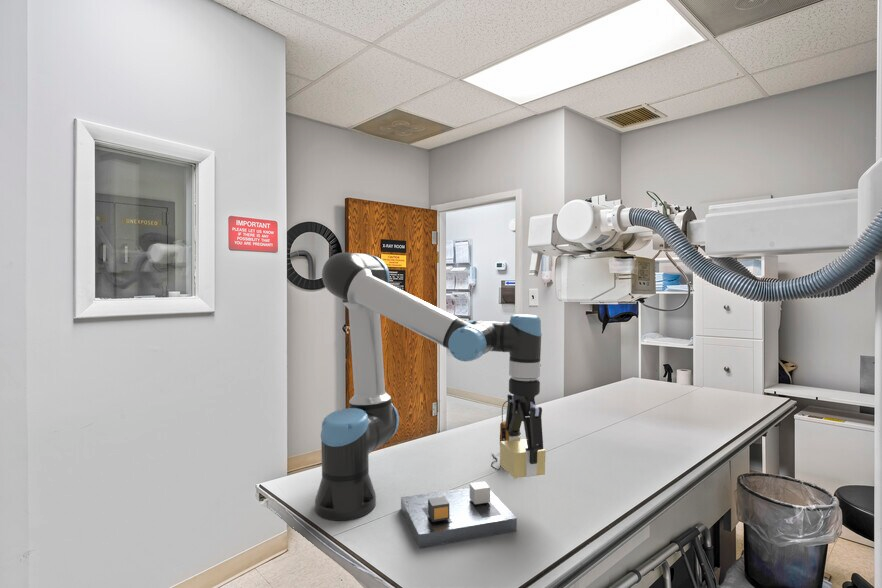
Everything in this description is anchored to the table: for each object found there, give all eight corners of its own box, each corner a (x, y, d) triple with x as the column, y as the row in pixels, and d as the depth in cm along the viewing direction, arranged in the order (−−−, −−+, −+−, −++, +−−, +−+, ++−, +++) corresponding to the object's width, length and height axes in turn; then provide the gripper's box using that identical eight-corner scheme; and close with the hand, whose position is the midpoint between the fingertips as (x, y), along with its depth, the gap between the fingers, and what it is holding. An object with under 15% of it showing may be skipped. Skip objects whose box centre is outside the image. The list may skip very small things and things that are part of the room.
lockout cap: (514, 478, 111) (514, 453, 111) (499, 464, 119) (500, 441, 119) (544, 474, 114) (545, 450, 114) (528, 461, 122) (529, 438, 121)
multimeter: (499, 449, 158) (499, 390, 158) (525, 456, 152) (525, 395, 151) (473, 462, 147) (473, 399, 146) (501, 471, 141) (501, 405, 140)
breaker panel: (419, 548, 101) (419, 534, 100) (401, 509, 118) (400, 497, 118) (516, 531, 107) (516, 518, 107) (486, 496, 125) (486, 484, 124)
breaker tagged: (432, 522, 105) (432, 506, 105) (428, 514, 108) (427, 498, 108) (449, 519, 106) (449, 503, 106) (444, 511, 110) (444, 496, 109)
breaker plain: (474, 504, 113) (474, 489, 113) (469, 497, 116) (469, 483, 116) (490, 501, 114) (490, 487, 114) (484, 495, 118) (484, 481, 117)
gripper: (560, 386, 107) (558, 484, 108) (518, 368, 127) (516, 451, 128) (531, 388, 104) (528, 488, 105) (493, 369, 125) (491, 454, 125)
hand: (522, 468), depth 117 cm, fingers closed on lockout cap, 8 cm apart
